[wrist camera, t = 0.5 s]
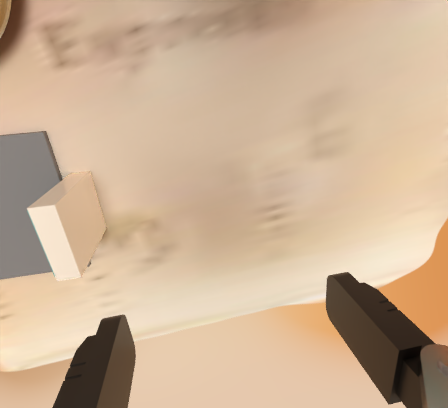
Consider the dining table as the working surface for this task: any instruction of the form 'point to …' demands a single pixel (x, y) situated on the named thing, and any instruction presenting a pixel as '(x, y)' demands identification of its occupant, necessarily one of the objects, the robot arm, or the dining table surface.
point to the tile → (69, 224)
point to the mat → (23, 201)
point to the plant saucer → (4, 14)
